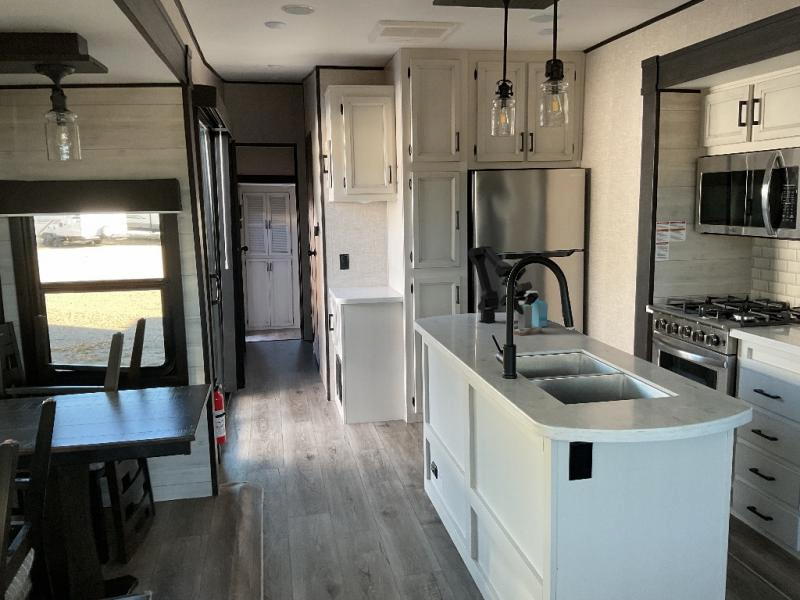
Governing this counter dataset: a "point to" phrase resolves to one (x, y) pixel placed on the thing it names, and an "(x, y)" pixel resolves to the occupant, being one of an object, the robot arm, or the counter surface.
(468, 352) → the counter surface
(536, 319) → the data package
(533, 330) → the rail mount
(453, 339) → the counter surface
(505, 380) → the counter surface
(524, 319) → the module
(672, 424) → the counter surface
